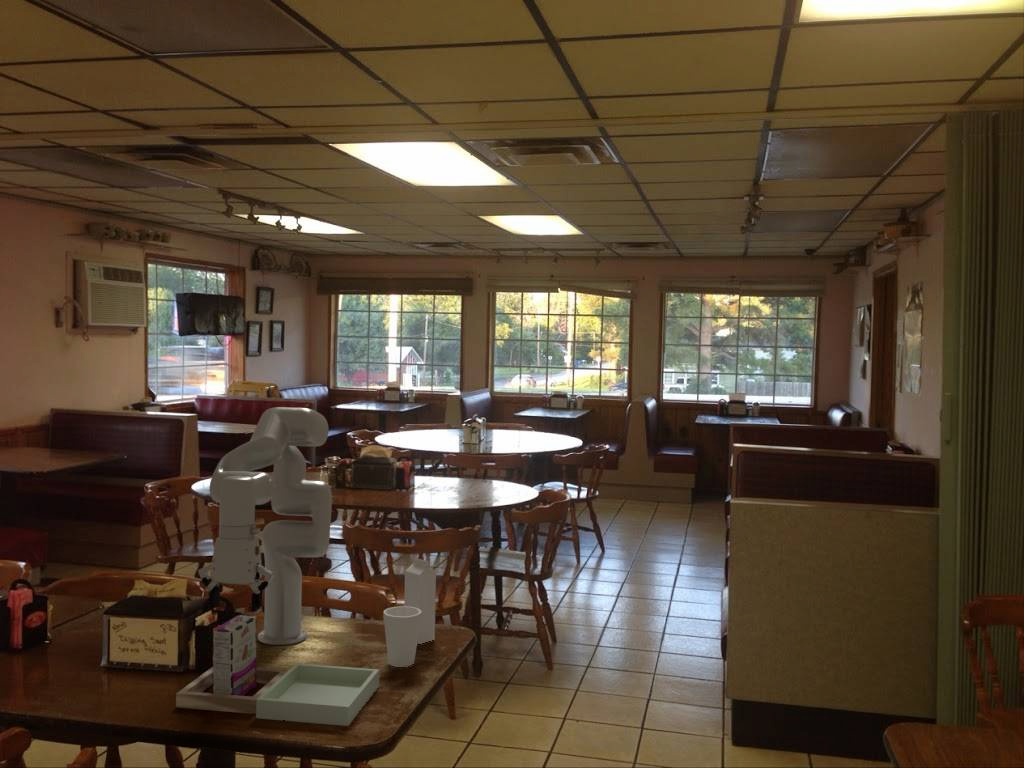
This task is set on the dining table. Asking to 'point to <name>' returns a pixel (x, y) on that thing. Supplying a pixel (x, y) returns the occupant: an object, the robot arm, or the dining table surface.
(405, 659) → the foam cup
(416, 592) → the milk
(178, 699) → the frame
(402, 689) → the dining table surface
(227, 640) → the candy bar box
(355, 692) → the green tray
